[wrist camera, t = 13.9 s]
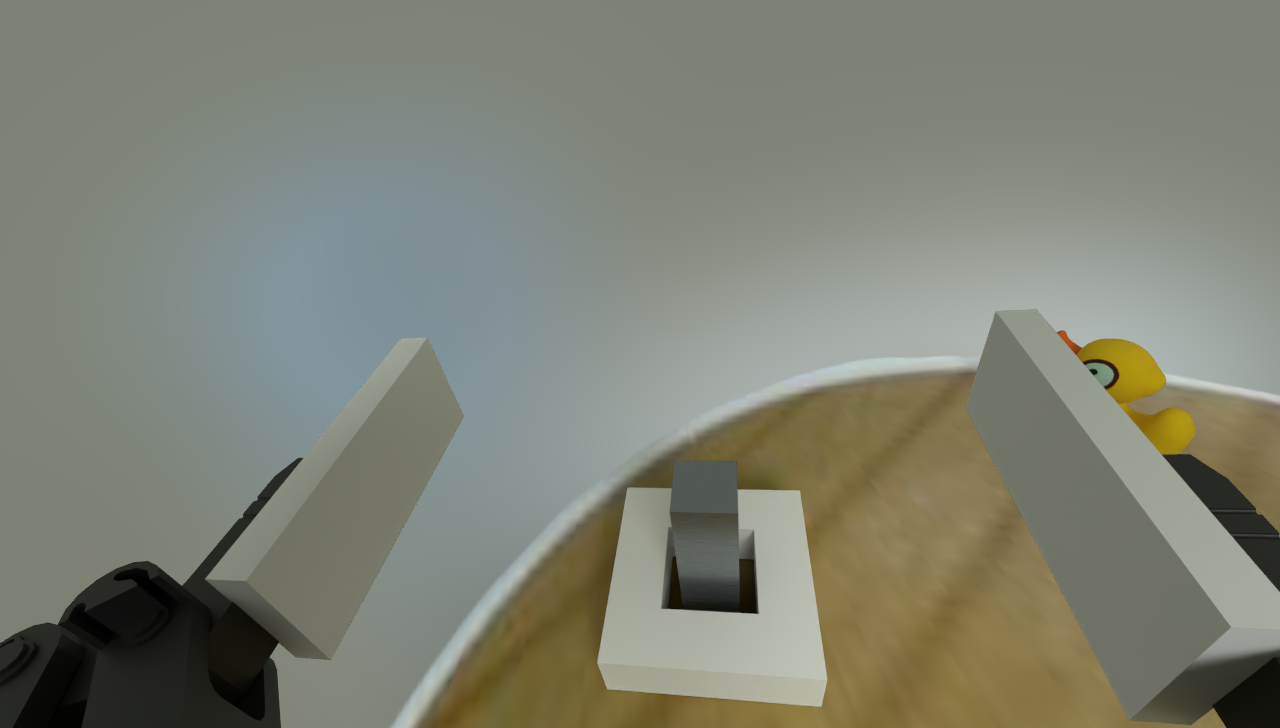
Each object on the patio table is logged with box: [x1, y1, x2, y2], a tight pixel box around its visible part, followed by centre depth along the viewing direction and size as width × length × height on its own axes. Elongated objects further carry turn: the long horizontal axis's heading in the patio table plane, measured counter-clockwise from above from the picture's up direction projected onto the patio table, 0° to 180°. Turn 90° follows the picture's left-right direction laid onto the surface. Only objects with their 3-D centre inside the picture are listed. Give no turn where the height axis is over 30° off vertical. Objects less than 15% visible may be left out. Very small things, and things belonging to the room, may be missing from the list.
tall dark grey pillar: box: [670, 461, 740, 613], centre depth 37 cm, size 4×4×13 cm
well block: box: [597, 488, 827, 707], centre depth 39 cm, size 14×14×4 cm
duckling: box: [1057, 331, 1195, 454], centre depth 45 cm, size 11×5×10 cm, turn 27°
